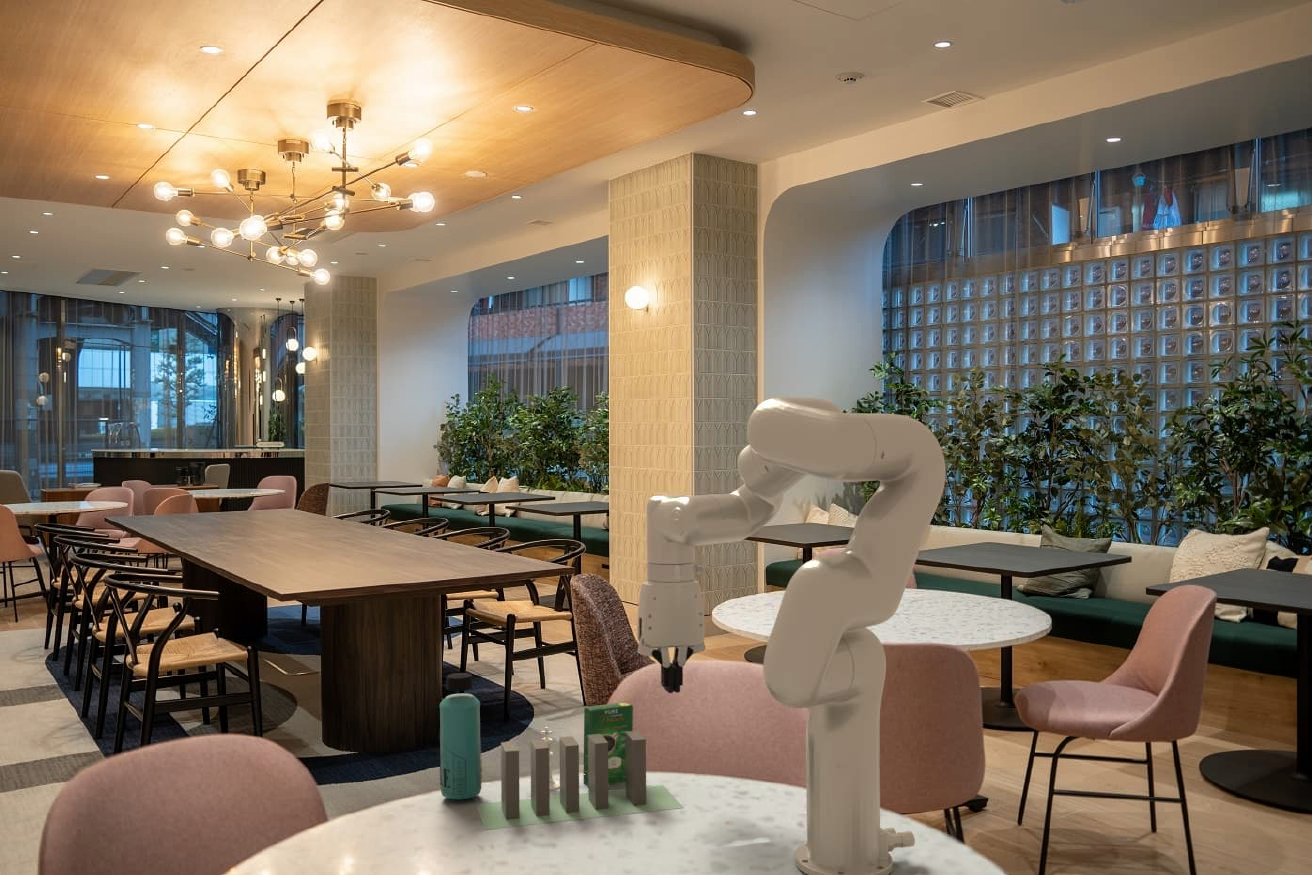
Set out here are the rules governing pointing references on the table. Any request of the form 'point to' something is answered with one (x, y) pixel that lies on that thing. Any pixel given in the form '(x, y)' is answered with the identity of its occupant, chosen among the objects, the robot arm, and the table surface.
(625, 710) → the coffee box
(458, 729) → the beverage bottle
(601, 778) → the domino
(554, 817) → the mat
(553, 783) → the chess piece
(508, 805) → the domino
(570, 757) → the domino
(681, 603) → the robot arm
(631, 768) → the domino
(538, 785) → the domino
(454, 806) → the table surface
